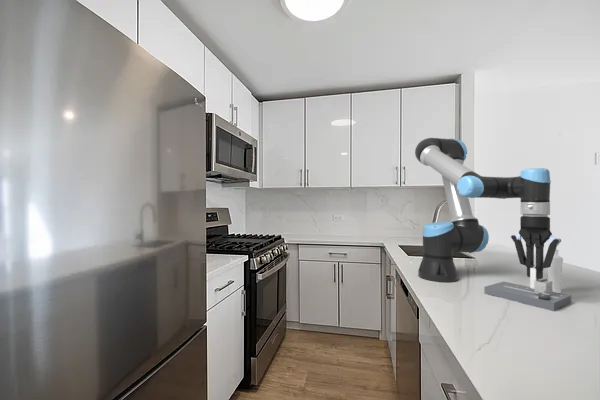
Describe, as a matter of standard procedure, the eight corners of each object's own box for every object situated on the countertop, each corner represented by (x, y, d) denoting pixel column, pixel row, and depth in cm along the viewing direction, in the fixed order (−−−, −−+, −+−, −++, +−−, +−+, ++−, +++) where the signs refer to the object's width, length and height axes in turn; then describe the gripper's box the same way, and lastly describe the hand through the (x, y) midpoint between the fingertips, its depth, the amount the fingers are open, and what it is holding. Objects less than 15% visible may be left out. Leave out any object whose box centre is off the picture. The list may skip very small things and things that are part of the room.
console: (484, 293, 100) (484, 281, 100) (503, 287, 108) (503, 277, 108) (553, 311, 84) (553, 297, 84) (571, 303, 91) (571, 290, 91)
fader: (534, 293, 92) (534, 279, 92) (540, 291, 94) (540, 278, 94) (546, 296, 89) (546, 282, 89) (552, 293, 92) (552, 280, 92)
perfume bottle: (567, 293, 102) (567, 251, 102) (554, 293, 102) (554, 250, 102) (556, 289, 106) (556, 249, 107) (544, 289, 106) (544, 248, 107)
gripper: (506, 215, 98) (506, 284, 97) (555, 216, 87) (555, 295, 86) (516, 214, 102) (516, 281, 101) (565, 216, 91) (565, 291, 90)
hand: (534, 287), depth 94 cm, fingers closed
